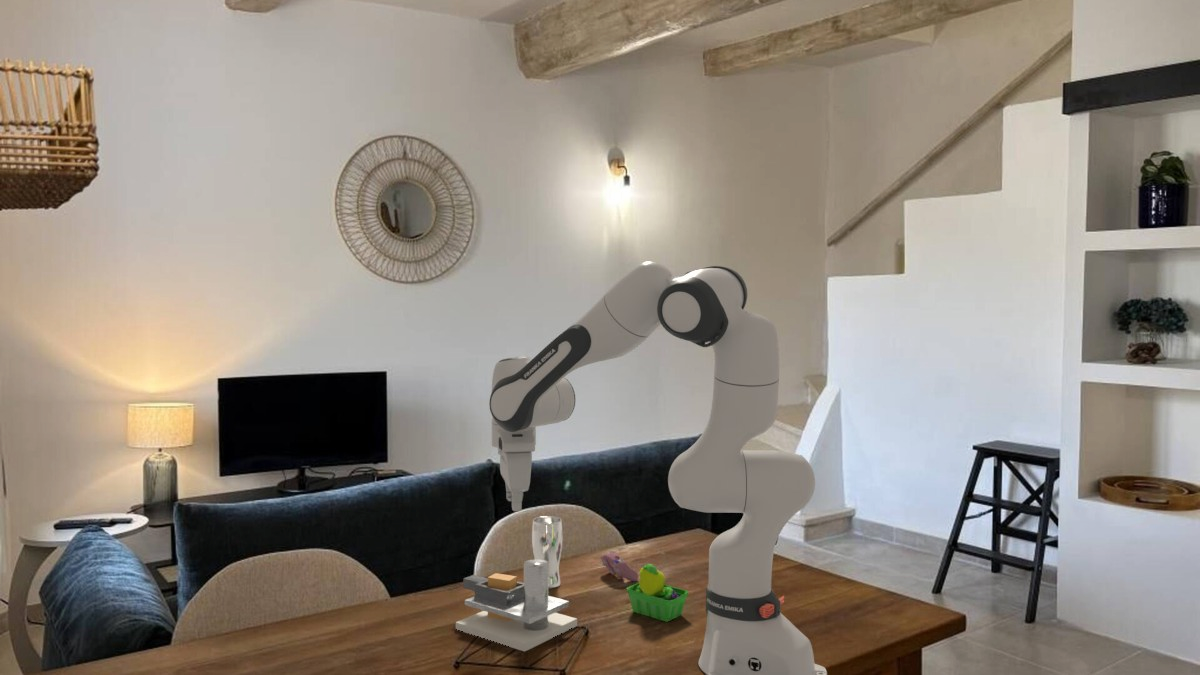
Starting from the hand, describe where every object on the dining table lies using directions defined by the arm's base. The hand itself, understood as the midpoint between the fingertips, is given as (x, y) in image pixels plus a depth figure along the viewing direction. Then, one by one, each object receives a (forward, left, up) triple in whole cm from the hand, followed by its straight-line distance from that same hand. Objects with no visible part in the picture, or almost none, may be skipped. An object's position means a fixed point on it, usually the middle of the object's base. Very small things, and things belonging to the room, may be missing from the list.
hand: (513, 505), depth 181 cm
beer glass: (+9, -22, -24) cm, 34 cm away
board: (-3, +2, -24) cm, 24 cm away
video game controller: (-1, -36, -24) cm, 43 cm away
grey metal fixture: (-1, +2, -22) cm, 22 cm away
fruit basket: (-21, -21, -24) cm, 38 cm away
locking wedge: (+1, +2, -22) cm, 22 cm away
